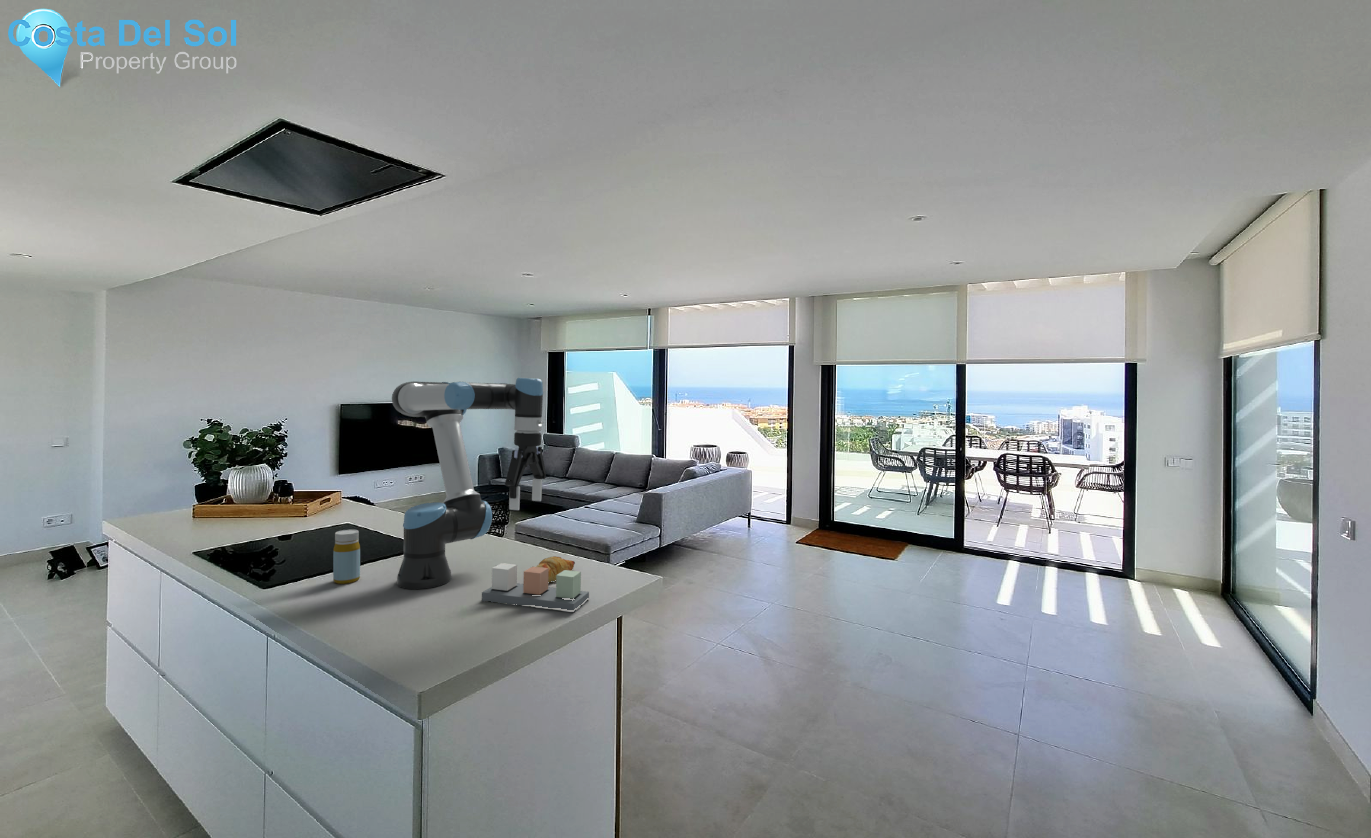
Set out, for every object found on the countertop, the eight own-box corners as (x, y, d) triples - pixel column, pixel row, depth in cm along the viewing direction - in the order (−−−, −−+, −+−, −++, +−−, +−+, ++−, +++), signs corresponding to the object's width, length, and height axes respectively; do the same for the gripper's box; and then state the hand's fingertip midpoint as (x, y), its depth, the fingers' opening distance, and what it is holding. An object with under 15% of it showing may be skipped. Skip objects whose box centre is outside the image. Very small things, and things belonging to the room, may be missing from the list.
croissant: (533, 600, 172) (542, 579, 170) (511, 579, 176) (520, 558, 174) (578, 579, 191) (587, 560, 188) (558, 561, 195) (567, 542, 192)
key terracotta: (523, 592, 160) (523, 571, 160) (532, 587, 165) (532, 566, 164) (539, 594, 159) (539, 573, 158) (548, 588, 163) (548, 568, 163)
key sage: (555, 596, 157) (556, 575, 157) (564, 590, 162) (564, 569, 162) (572, 598, 156) (573, 577, 156) (580, 592, 161) (580, 571, 161)
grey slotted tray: (481, 601, 160) (481, 592, 160) (501, 589, 170) (501, 581, 170) (573, 613, 154) (573, 603, 153) (588, 600, 163) (589, 591, 163)
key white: (491, 588, 162) (491, 567, 162) (501, 583, 167) (501, 563, 167) (507, 590, 161) (507, 569, 161) (516, 585, 166) (517, 564, 166)
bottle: (365, 577, 177) (365, 529, 177) (349, 585, 170) (349, 535, 170) (344, 576, 178) (344, 528, 177) (327, 583, 171) (327, 534, 170)
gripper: (518, 435, 151) (516, 515, 152) (558, 429, 176) (556, 498, 177) (493, 434, 153) (491, 512, 154) (535, 428, 177) (533, 496, 178)
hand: (525, 505), depth 165 cm, fingers open, 13 cm apart
